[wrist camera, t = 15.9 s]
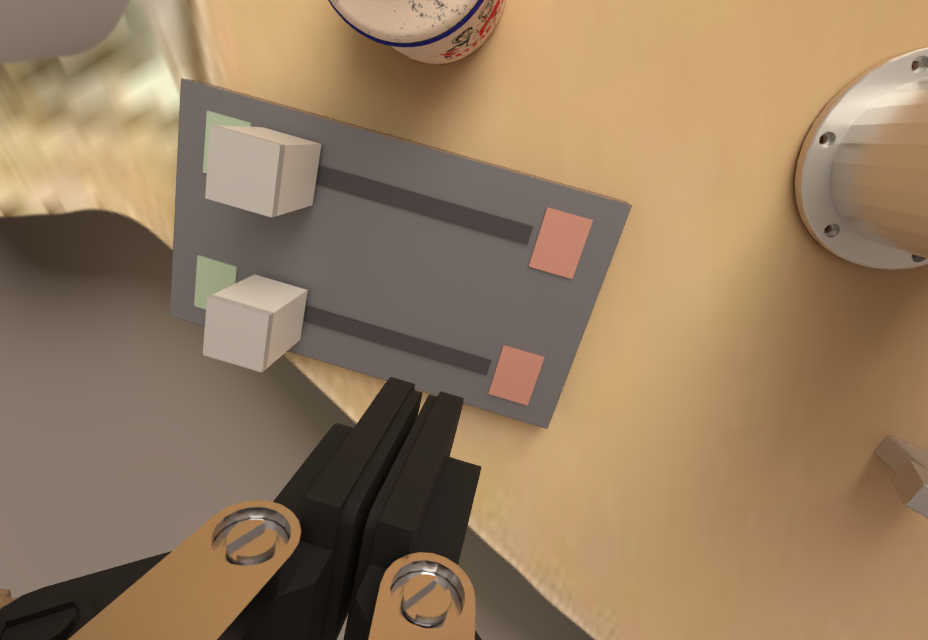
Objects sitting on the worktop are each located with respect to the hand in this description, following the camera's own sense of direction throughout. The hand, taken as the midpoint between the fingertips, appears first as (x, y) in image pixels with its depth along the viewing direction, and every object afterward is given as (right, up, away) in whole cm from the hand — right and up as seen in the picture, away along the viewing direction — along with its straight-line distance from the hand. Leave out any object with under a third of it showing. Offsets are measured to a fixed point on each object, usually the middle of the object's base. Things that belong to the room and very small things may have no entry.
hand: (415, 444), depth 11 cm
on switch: (-10, +13, +22) cm, 28 cm away
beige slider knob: (-12, +4, +26) cm, 29 cm away
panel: (-5, +7, +26) cm, 27 cm away
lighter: (+32, -6, +26) cm, 42 cm away
